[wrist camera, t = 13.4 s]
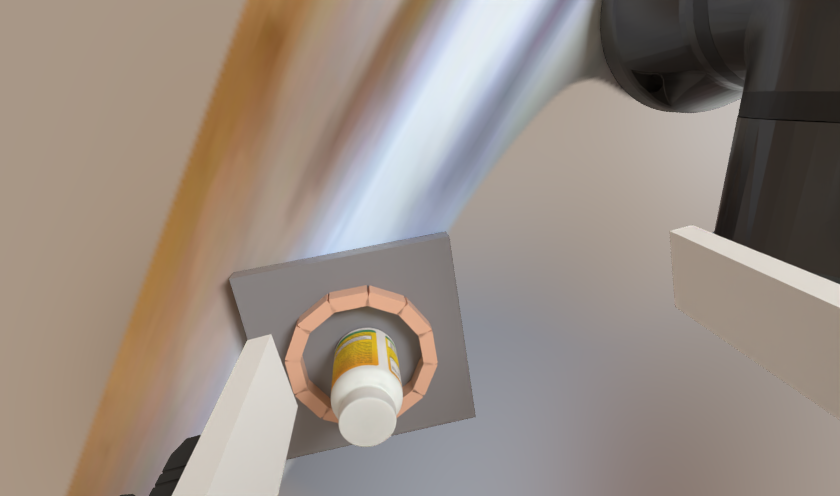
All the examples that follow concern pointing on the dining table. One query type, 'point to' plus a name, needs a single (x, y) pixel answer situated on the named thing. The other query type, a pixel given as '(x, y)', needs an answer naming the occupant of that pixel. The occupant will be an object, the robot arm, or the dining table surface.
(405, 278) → the coaster stand
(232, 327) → the dining table surface
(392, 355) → the supplement bottle
